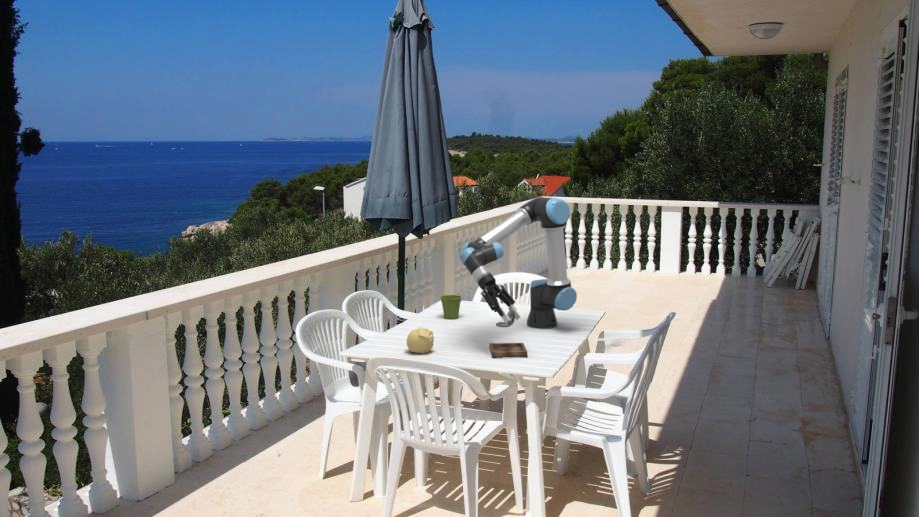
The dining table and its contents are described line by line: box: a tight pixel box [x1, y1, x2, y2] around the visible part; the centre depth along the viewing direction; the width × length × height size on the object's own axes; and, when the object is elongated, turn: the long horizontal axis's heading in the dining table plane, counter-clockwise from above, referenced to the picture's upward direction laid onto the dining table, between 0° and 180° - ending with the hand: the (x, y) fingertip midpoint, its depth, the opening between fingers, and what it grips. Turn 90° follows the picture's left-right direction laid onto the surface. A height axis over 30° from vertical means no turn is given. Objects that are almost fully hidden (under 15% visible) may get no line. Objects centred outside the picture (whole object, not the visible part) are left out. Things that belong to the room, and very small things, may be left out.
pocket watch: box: [495, 304, 516, 328], centre depth 325 cm, size 8×8×10 cm
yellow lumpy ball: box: [406, 326, 435, 354], centre depth 331 cm, size 12×12×11 cm
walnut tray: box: [489, 342, 528, 359], centre depth 327 cm, size 15×15×2 cm
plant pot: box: [439, 294, 463, 320], centre depth 395 cm, size 12×12×11 cm
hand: (513, 319), depth 323 cm, fingers closed on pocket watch, 7 cm apart
